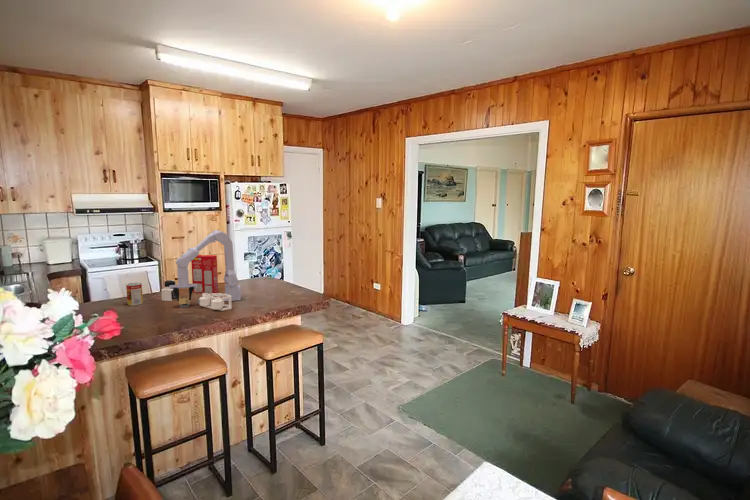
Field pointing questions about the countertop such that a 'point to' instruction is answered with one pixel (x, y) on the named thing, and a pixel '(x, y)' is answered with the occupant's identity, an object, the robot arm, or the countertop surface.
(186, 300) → the wooden ring
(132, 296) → the canned food
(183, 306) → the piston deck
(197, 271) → the food packaging
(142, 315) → the countertop surface
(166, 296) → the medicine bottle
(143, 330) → the countertop surface
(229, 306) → the car outline toy
